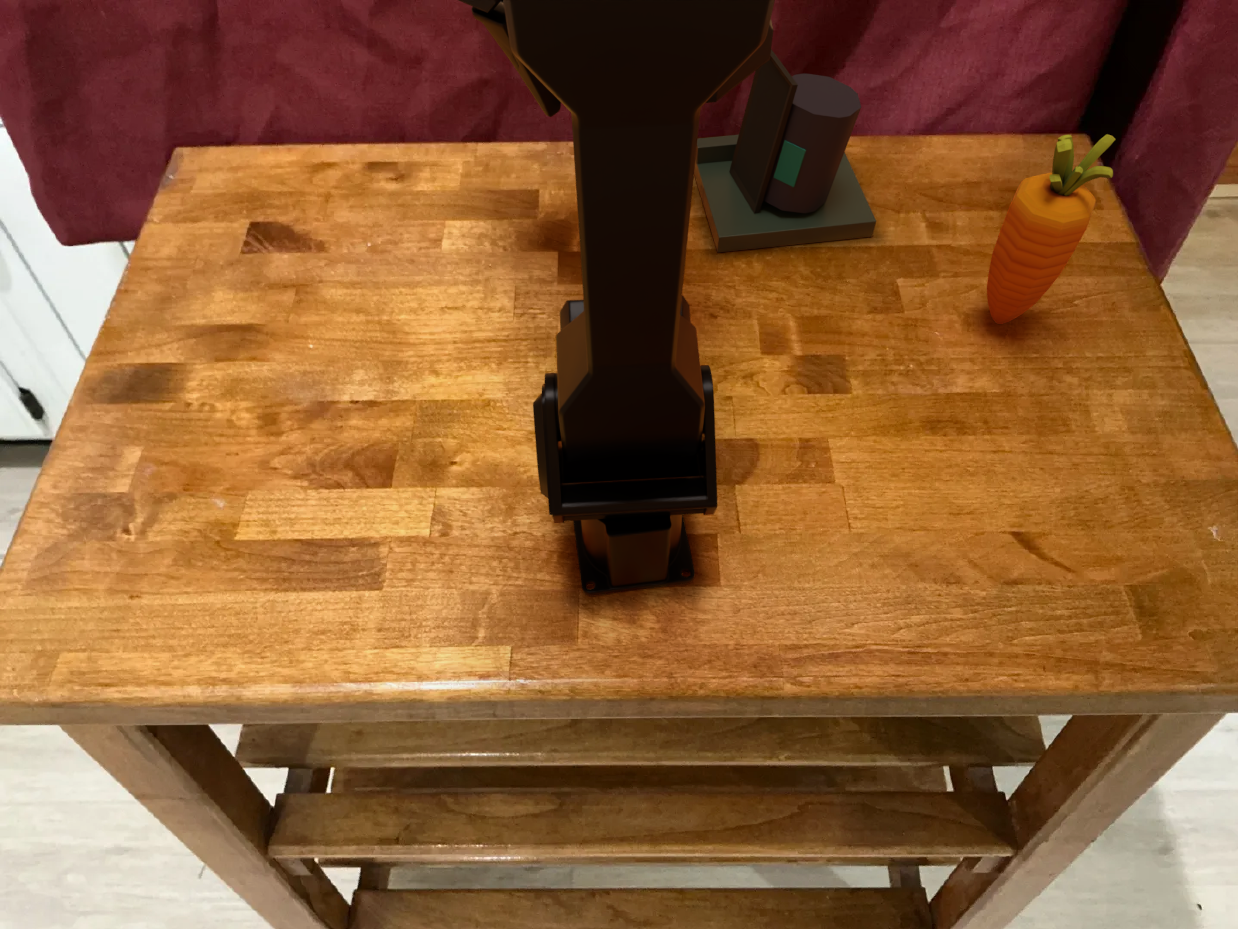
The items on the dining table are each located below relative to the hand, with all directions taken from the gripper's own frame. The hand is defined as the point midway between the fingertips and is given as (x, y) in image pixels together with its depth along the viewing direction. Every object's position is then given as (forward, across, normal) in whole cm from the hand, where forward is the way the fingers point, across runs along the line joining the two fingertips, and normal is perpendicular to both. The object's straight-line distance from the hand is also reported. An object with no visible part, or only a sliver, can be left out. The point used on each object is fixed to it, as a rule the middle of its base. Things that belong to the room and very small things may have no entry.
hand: (608, 138), depth 57 cm
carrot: (+12, -24, -13) cm, 30 cm away
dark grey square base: (+12, -5, -15) cm, 20 cm away
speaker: (+10, -5, -15) cm, 19 cm away
